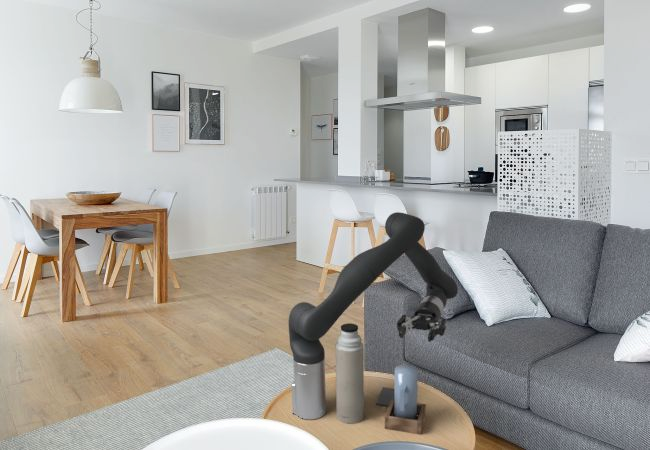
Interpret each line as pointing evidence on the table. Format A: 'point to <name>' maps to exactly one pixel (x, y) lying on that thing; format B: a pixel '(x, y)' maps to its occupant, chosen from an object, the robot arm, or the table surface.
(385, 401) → the mat
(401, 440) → the table surface
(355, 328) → the thermos bottle
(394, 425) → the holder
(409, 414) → the jug
